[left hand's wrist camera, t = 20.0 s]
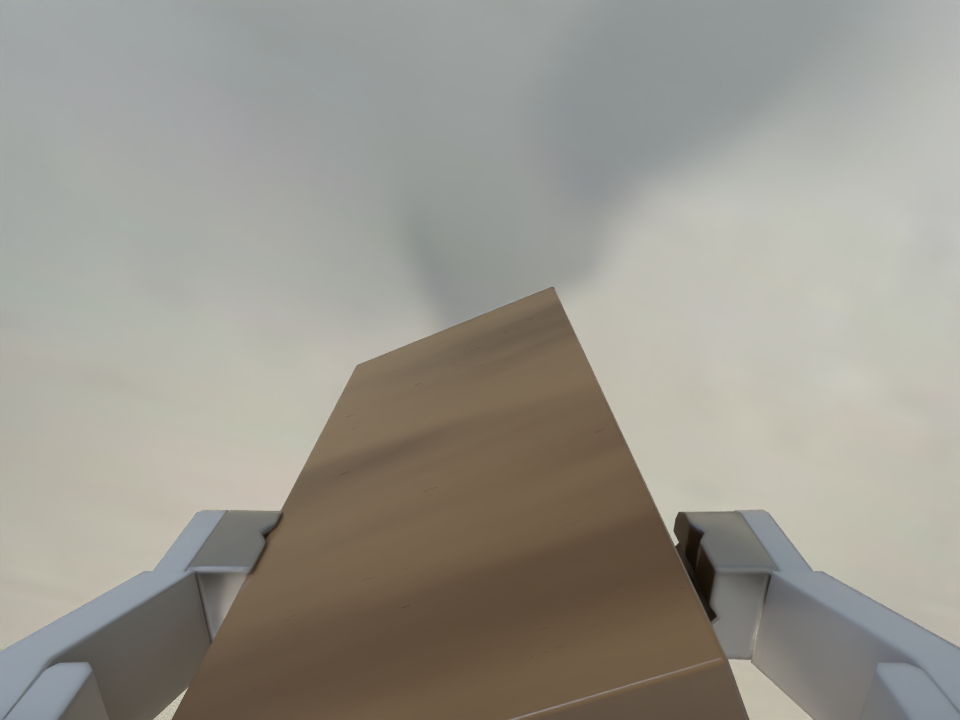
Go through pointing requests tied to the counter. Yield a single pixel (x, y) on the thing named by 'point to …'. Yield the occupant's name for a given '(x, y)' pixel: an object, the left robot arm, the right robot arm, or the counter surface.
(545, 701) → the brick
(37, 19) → the counter surface
